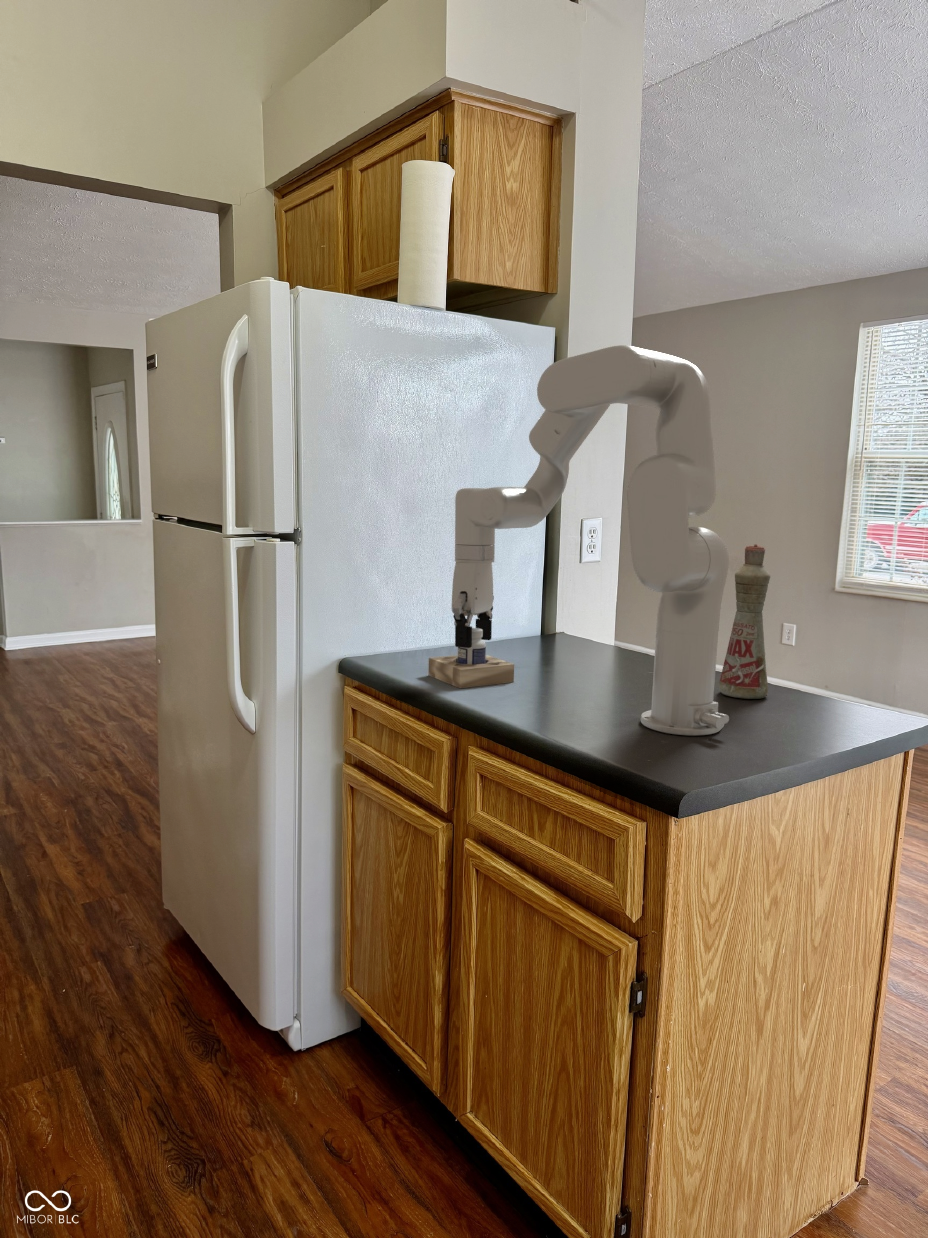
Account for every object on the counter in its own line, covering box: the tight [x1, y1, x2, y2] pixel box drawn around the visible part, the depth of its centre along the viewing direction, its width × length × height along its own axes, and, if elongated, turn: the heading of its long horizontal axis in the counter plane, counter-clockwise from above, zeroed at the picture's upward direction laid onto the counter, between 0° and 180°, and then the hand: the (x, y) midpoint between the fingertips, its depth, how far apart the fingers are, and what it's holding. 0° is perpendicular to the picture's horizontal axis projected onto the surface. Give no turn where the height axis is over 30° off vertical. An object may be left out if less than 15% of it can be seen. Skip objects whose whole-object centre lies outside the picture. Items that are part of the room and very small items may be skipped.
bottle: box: [718, 543, 771, 700], centre depth 161 cm, size 9×9×28 cm
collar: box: [427, 654, 515, 689], centre depth 170 cm, size 12×12×4 cm
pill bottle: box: [457, 627, 487, 665], centre depth 170 cm, size 5×5×10 cm
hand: (473, 643), depth 169 cm, fingers open, 9 cm apart
